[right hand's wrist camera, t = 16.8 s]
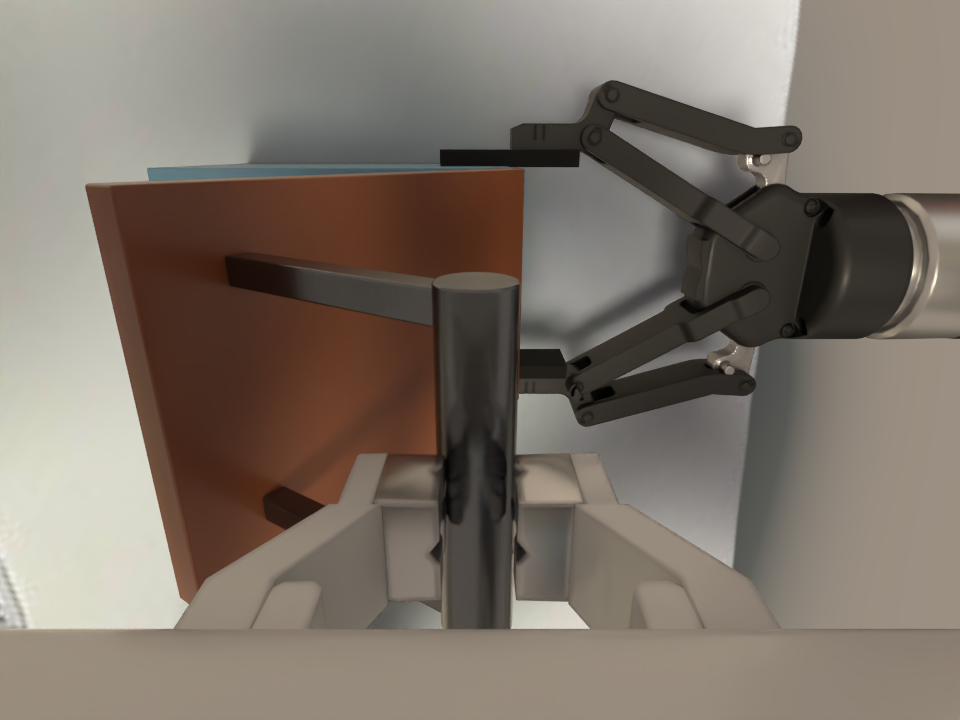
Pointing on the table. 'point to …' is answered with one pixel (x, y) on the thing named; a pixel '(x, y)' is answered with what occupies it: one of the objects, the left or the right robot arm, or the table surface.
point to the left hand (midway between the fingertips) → (443, 267)
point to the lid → (322, 354)
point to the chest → (288, 170)
